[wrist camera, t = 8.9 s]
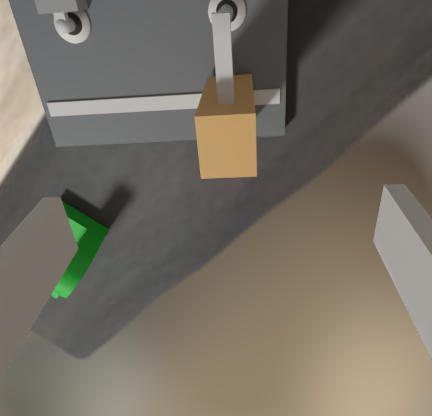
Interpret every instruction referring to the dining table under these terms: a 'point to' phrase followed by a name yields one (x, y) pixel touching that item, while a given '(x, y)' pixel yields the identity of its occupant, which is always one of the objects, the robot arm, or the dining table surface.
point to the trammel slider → (226, 112)
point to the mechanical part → (80, 249)
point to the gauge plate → (146, 64)
